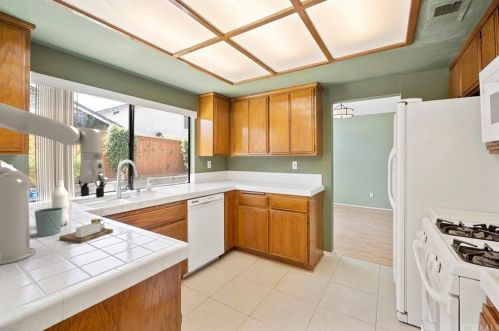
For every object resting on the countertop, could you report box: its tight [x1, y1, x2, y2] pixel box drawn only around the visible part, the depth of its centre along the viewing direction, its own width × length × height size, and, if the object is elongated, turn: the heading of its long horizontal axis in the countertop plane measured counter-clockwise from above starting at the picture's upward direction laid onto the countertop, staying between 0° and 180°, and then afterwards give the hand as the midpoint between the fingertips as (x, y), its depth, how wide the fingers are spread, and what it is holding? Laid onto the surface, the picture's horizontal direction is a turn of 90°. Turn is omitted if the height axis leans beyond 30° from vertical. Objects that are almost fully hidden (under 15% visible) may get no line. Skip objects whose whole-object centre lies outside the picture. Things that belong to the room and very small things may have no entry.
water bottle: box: [51, 179, 70, 227], centre depth 124 cm, size 7×7×25 cm
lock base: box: [59, 218, 114, 244], centre depth 107 cm, size 15×14×6 cm
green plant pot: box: [34, 207, 62, 238], centre depth 110 cm, size 10×10×12 cm
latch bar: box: [75, 218, 106, 238], centre depth 105 cm, size 12×4×5 cm, turn 161°
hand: (92, 196), depth 99 cm, fingers open, 8 cm apart
